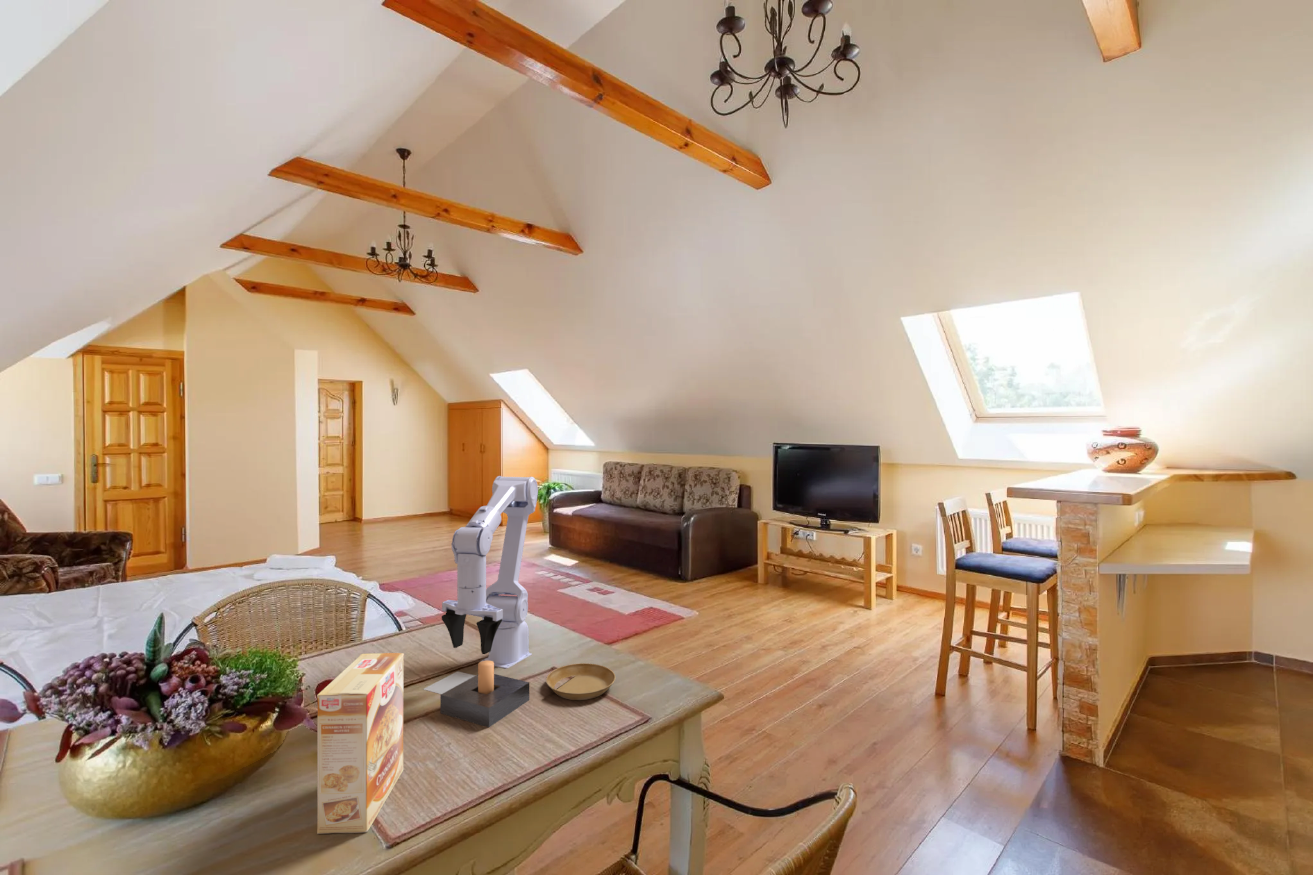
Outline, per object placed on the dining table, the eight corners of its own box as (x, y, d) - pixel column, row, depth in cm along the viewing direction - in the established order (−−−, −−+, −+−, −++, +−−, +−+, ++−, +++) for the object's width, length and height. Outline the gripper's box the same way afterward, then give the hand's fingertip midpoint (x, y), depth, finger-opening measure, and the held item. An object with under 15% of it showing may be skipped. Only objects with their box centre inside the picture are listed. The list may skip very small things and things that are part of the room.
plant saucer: (627, 682, 130) (627, 670, 130) (592, 711, 116) (592, 698, 116) (570, 669, 136) (571, 658, 136) (531, 696, 123) (531, 684, 123)
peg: (484, 703, 119) (484, 659, 119) (496, 706, 118) (497, 661, 117) (474, 710, 116) (474, 665, 116) (487, 713, 115) (487, 667, 115)
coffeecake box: (368, 833, 81) (367, 693, 81) (314, 835, 81) (313, 695, 80) (405, 769, 96) (405, 651, 96) (360, 771, 96) (360, 652, 95)
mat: (457, 672, 133) (457, 671, 133) (492, 681, 129) (492, 679, 129) (423, 690, 124) (423, 689, 124) (459, 700, 120) (459, 698, 120)
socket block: (483, 689, 125) (483, 671, 125) (529, 701, 120) (529, 682, 120) (440, 715, 114) (440, 694, 114) (489, 729, 109) (489, 707, 109)
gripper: (430, 585, 122) (431, 650, 122) (486, 594, 116) (486, 662, 116) (455, 577, 128) (455, 638, 129) (509, 585, 122) (509, 649, 123)
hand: (471, 649), depth 123 cm, fingers open, 7 cm apart
